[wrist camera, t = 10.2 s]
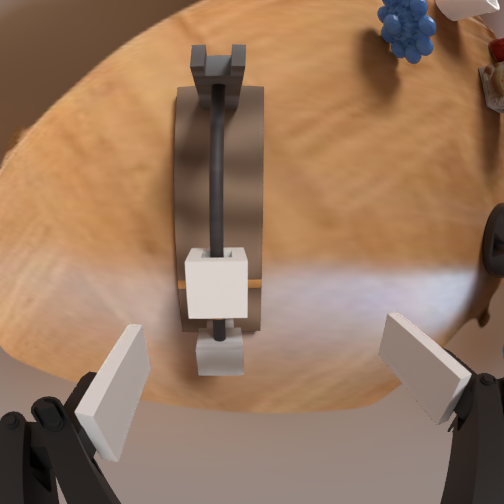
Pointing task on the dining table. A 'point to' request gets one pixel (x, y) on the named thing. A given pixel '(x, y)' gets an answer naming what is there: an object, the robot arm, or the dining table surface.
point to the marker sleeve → (217, 284)
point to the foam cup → (466, 8)
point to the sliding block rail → (219, 193)
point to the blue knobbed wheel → (407, 28)
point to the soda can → (497, 49)
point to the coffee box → (493, 85)
